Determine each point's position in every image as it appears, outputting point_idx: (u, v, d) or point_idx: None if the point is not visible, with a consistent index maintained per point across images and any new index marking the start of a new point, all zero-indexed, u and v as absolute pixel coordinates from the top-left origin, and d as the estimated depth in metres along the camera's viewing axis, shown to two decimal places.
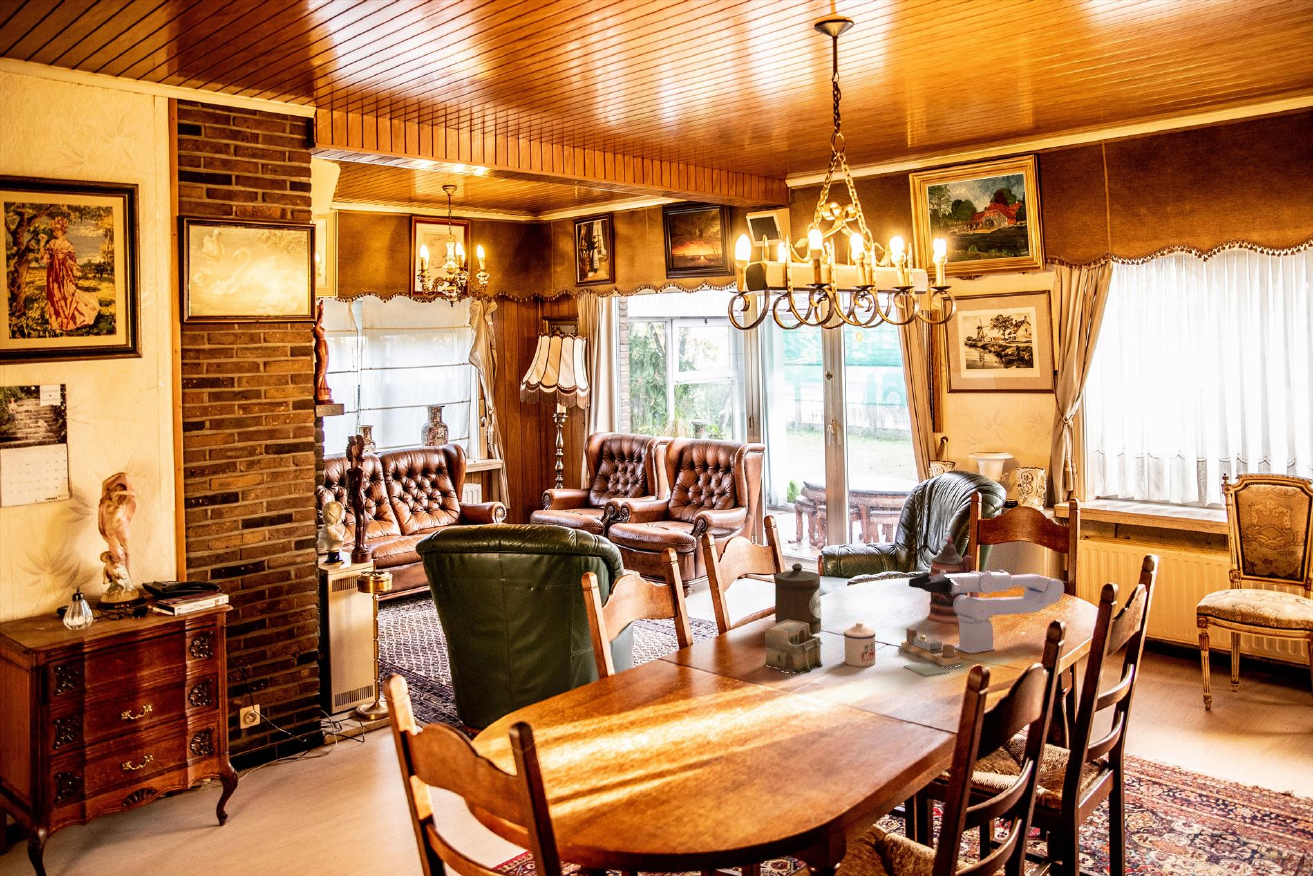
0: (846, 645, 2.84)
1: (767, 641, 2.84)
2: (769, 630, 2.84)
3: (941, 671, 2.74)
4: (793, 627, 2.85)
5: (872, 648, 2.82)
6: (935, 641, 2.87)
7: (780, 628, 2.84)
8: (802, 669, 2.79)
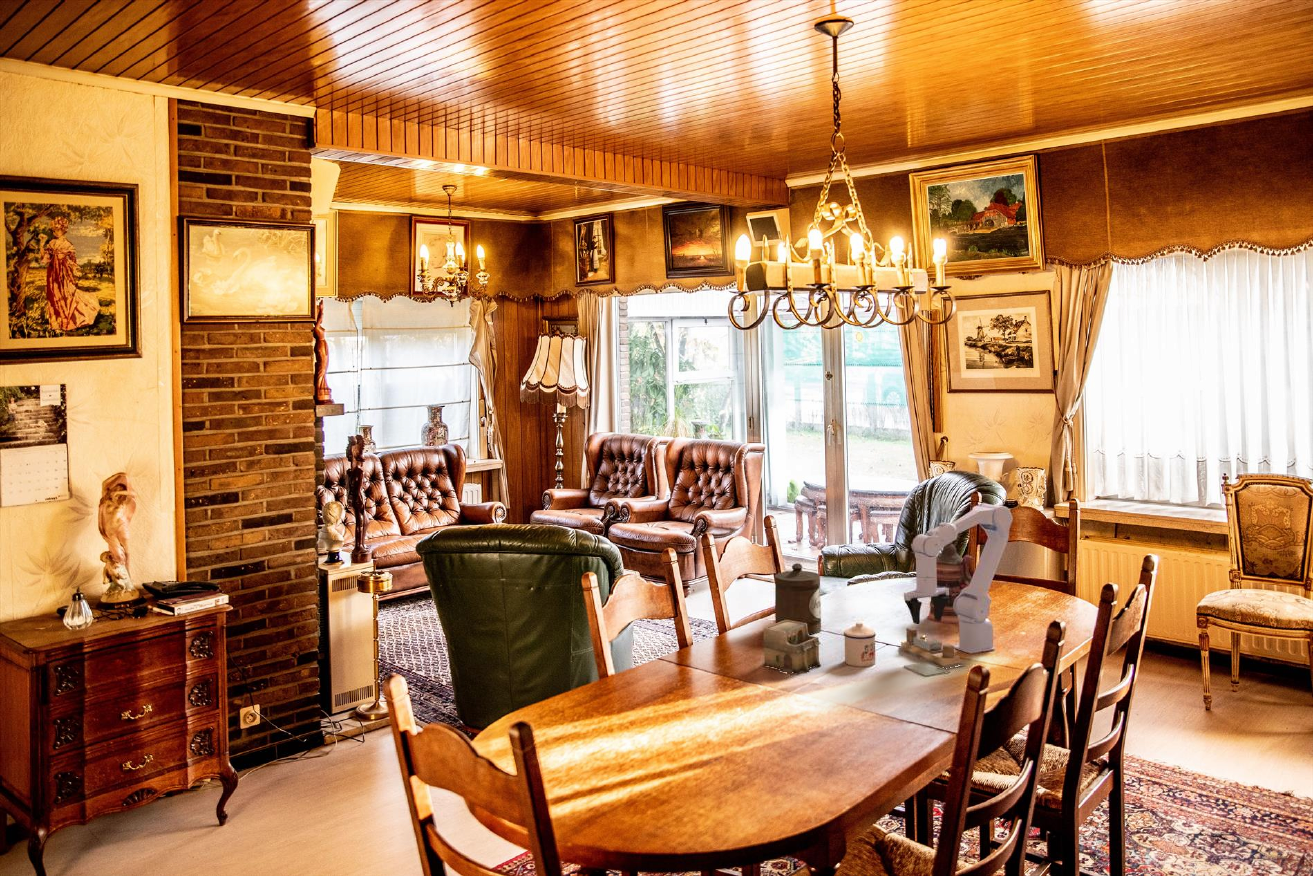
0: (846, 645, 2.84)
1: (765, 641, 2.84)
2: (767, 630, 2.83)
3: (941, 671, 2.74)
4: (791, 627, 2.85)
5: (872, 648, 2.82)
6: (935, 641, 2.87)
7: (778, 628, 2.84)
8: (801, 669, 2.79)
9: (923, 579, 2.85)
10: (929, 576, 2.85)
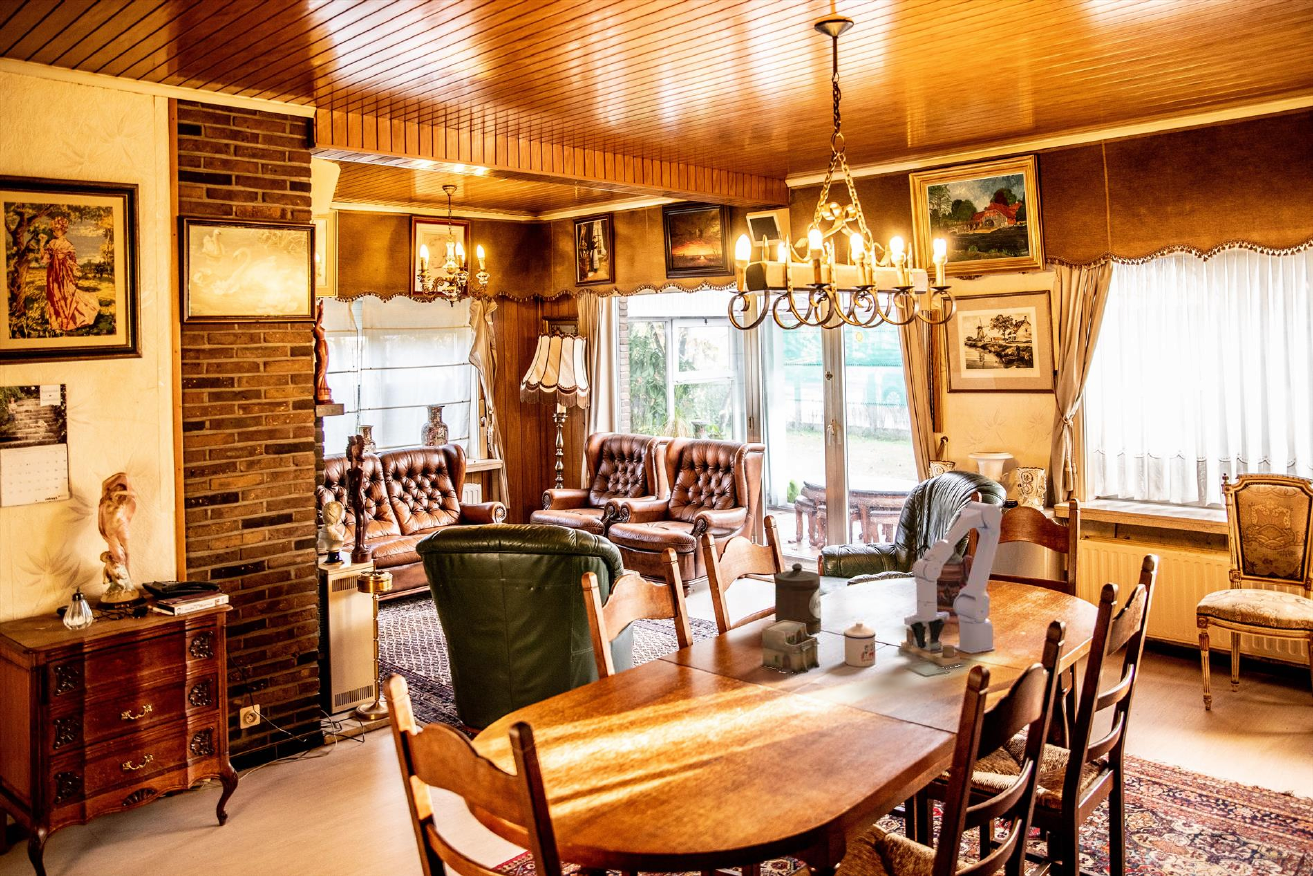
0: (846, 645, 2.84)
1: (764, 641, 2.84)
2: (766, 630, 2.83)
3: (941, 671, 2.74)
4: (790, 627, 2.85)
5: (872, 648, 2.82)
6: (935, 641, 2.87)
7: (777, 628, 2.84)
8: (799, 669, 2.79)
9: (923, 604, 2.86)
10: (929, 601, 2.85)
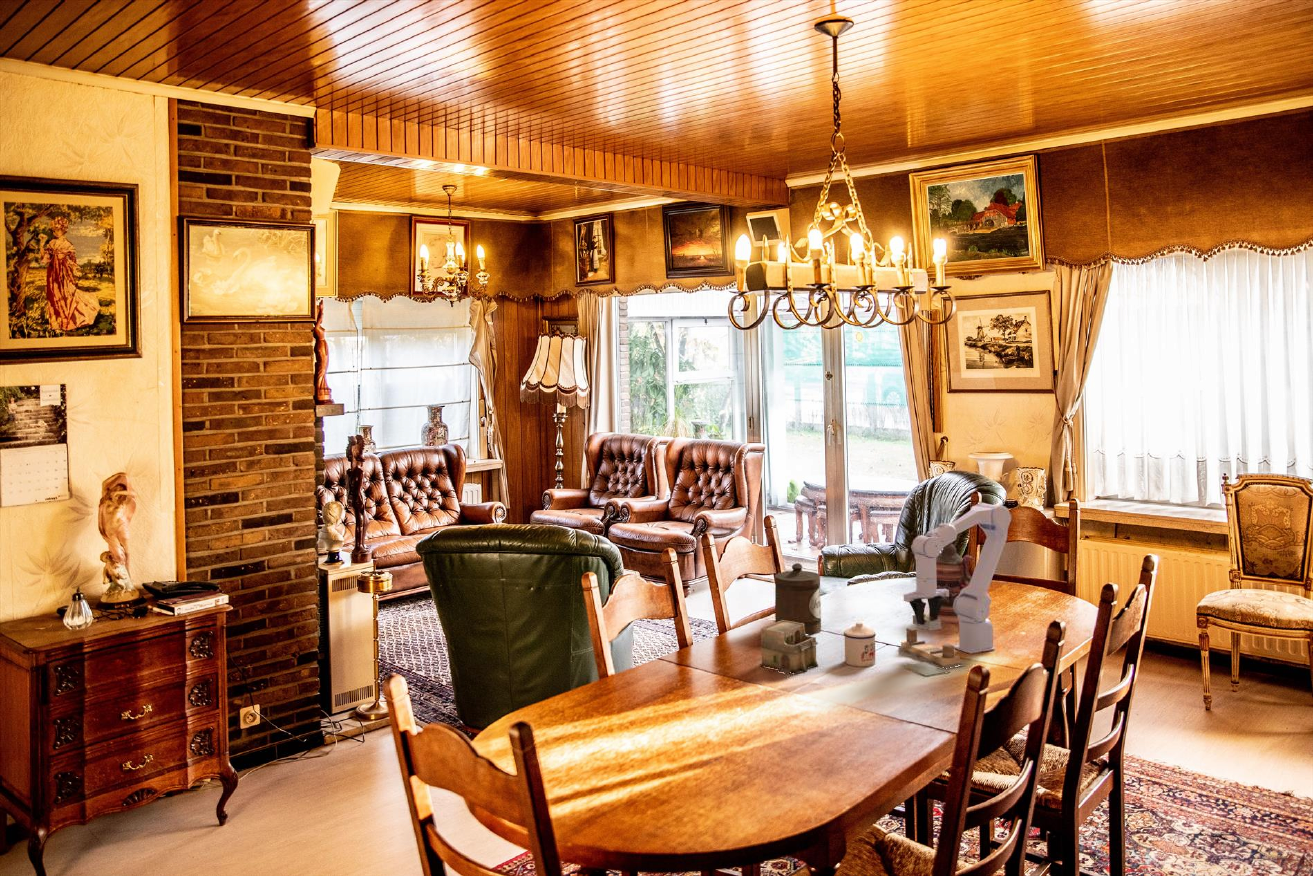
0: (846, 645, 2.84)
1: (763, 642, 2.84)
2: (765, 631, 2.83)
3: (941, 671, 2.74)
4: (789, 627, 2.85)
5: (872, 648, 2.82)
6: (934, 619, 2.86)
7: (776, 628, 2.84)
8: (798, 669, 2.79)
9: (923, 580, 2.85)
10: (929, 577, 2.84)
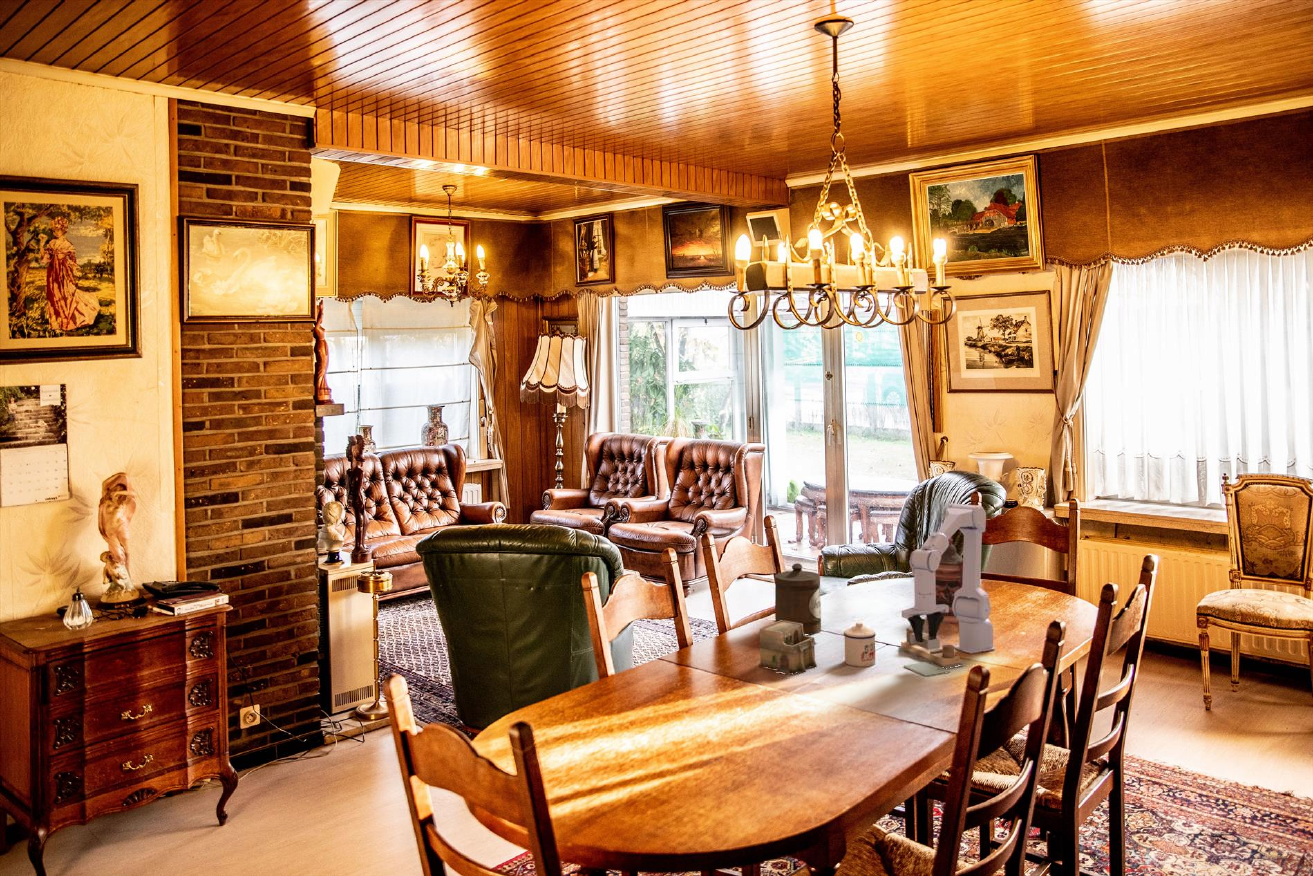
0: (846, 645, 2.84)
1: (762, 642, 2.84)
2: (764, 631, 2.83)
3: (941, 671, 2.74)
4: (787, 627, 2.85)
5: (872, 648, 2.82)
6: (933, 638, 2.74)
7: (775, 629, 2.84)
8: (797, 669, 2.79)
9: (922, 596, 2.73)
10: (931, 592, 2.73)
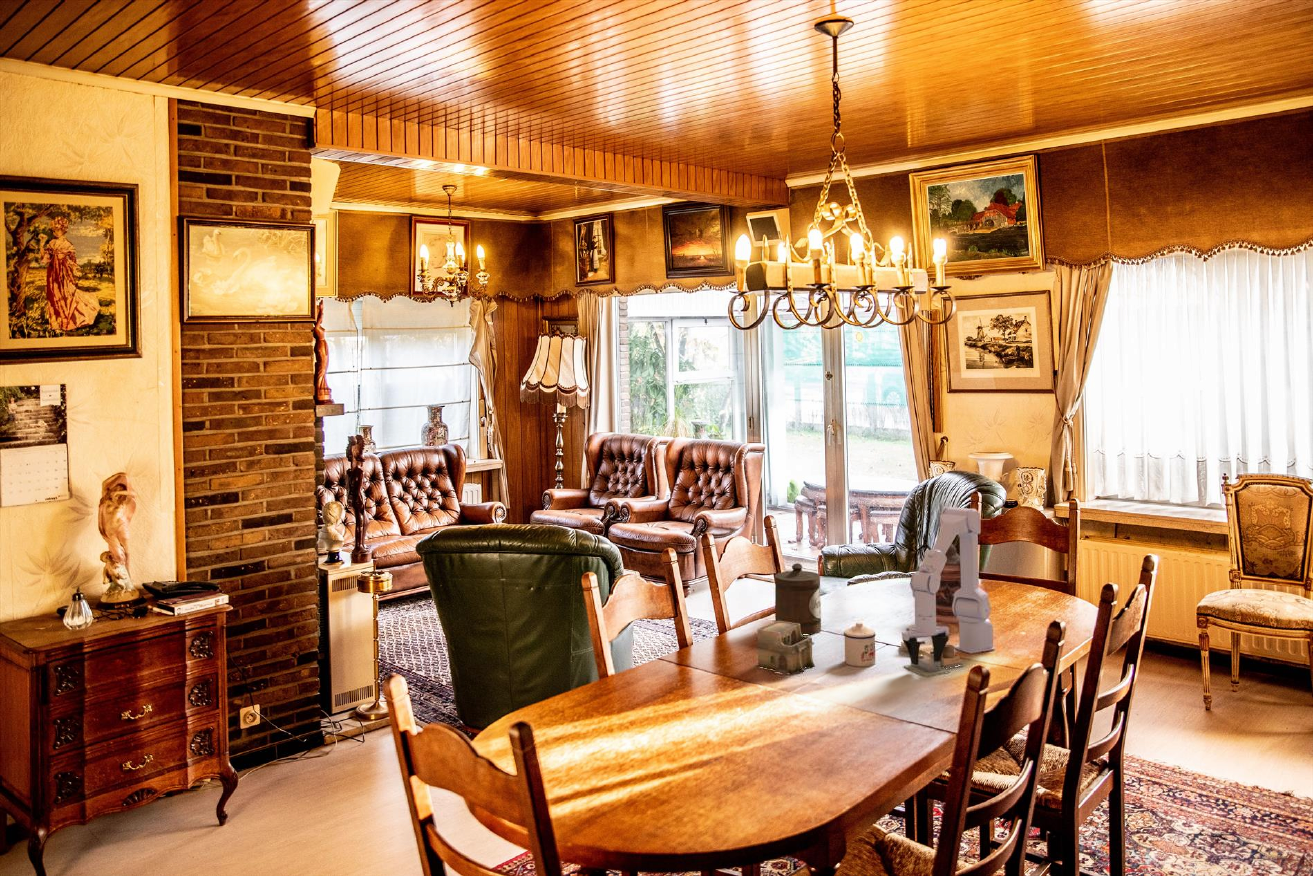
0: (846, 645, 2.84)
1: (759, 642, 2.83)
2: (762, 631, 2.83)
3: (941, 671, 2.74)
4: (785, 628, 2.84)
5: (872, 648, 2.82)
6: (933, 661, 2.75)
7: (772, 629, 2.84)
8: (795, 670, 2.79)
9: (922, 618, 2.74)
10: (932, 615, 2.73)
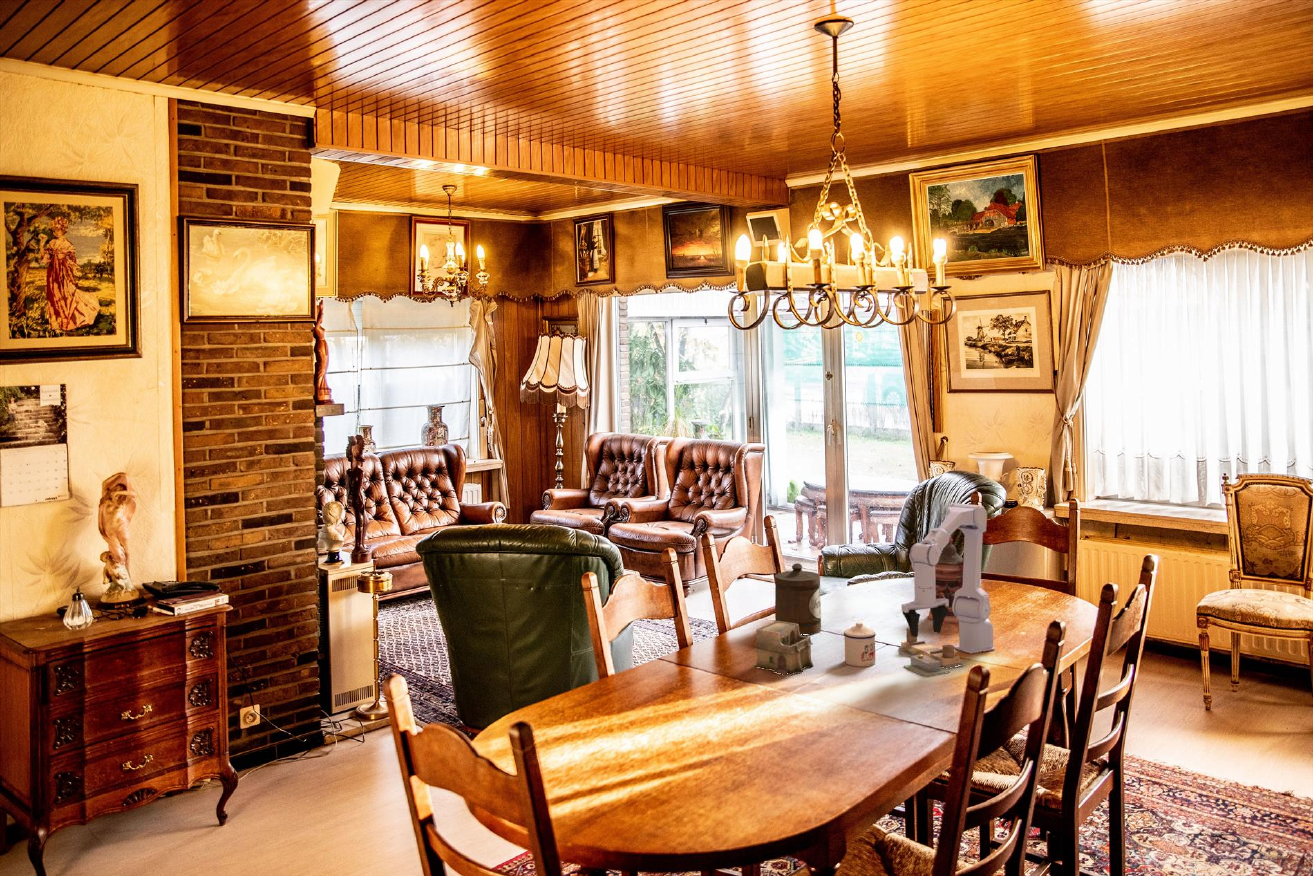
0: (846, 645, 2.84)
1: (758, 643, 2.83)
2: (760, 631, 2.82)
3: (941, 671, 2.74)
4: (784, 628, 2.84)
5: (872, 648, 2.82)
6: (933, 661, 2.75)
7: (771, 629, 2.83)
8: (795, 670, 2.79)
9: (921, 590, 2.73)
10: (931, 586, 2.73)
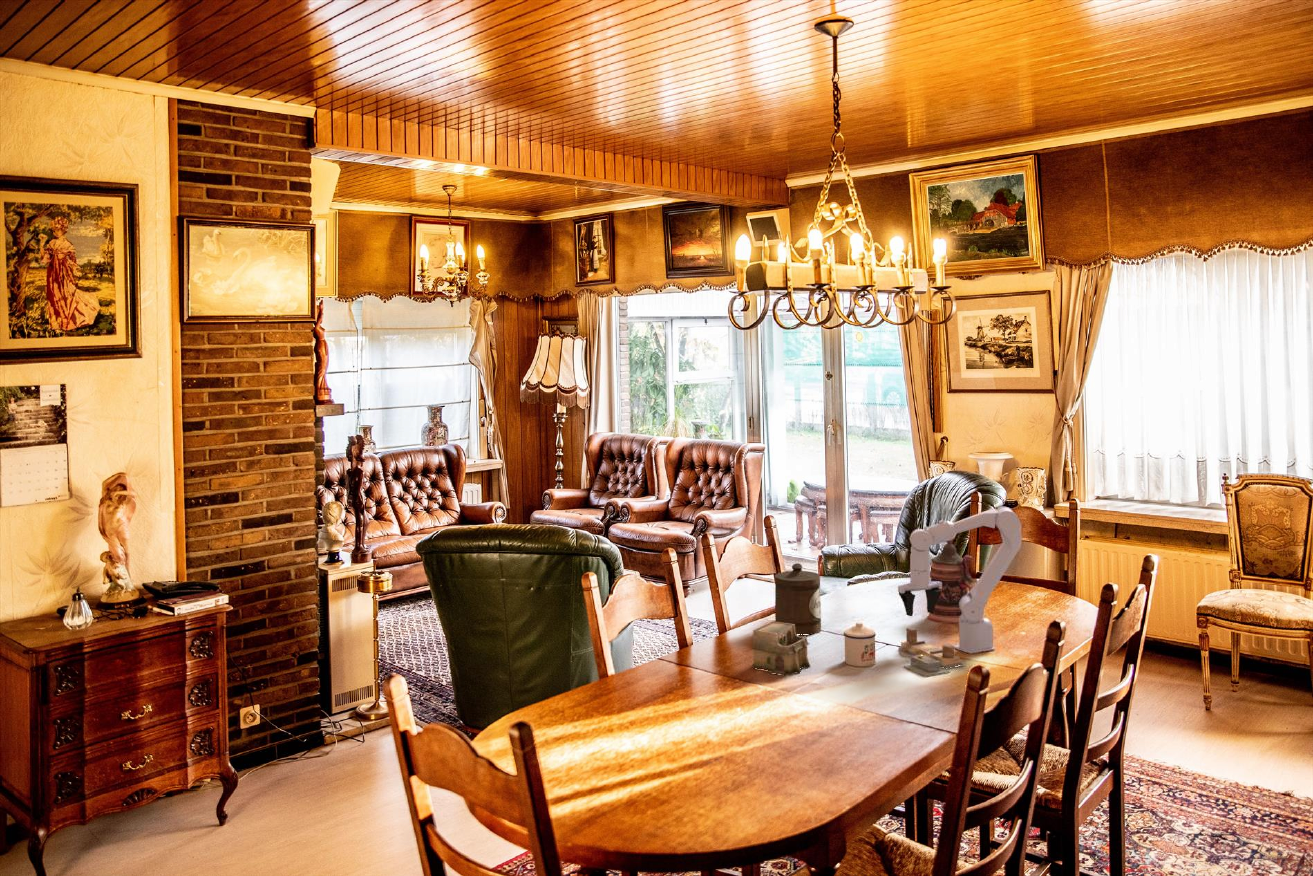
0: (846, 645, 2.84)
1: (755, 643, 2.82)
2: (758, 632, 2.82)
3: (941, 671, 2.74)
4: (781, 628, 2.84)
5: (872, 648, 2.82)
6: (933, 661, 2.75)
7: (768, 630, 2.83)
8: (792, 670, 2.78)
9: (917, 573, 2.94)
10: (917, 569, 2.94)
